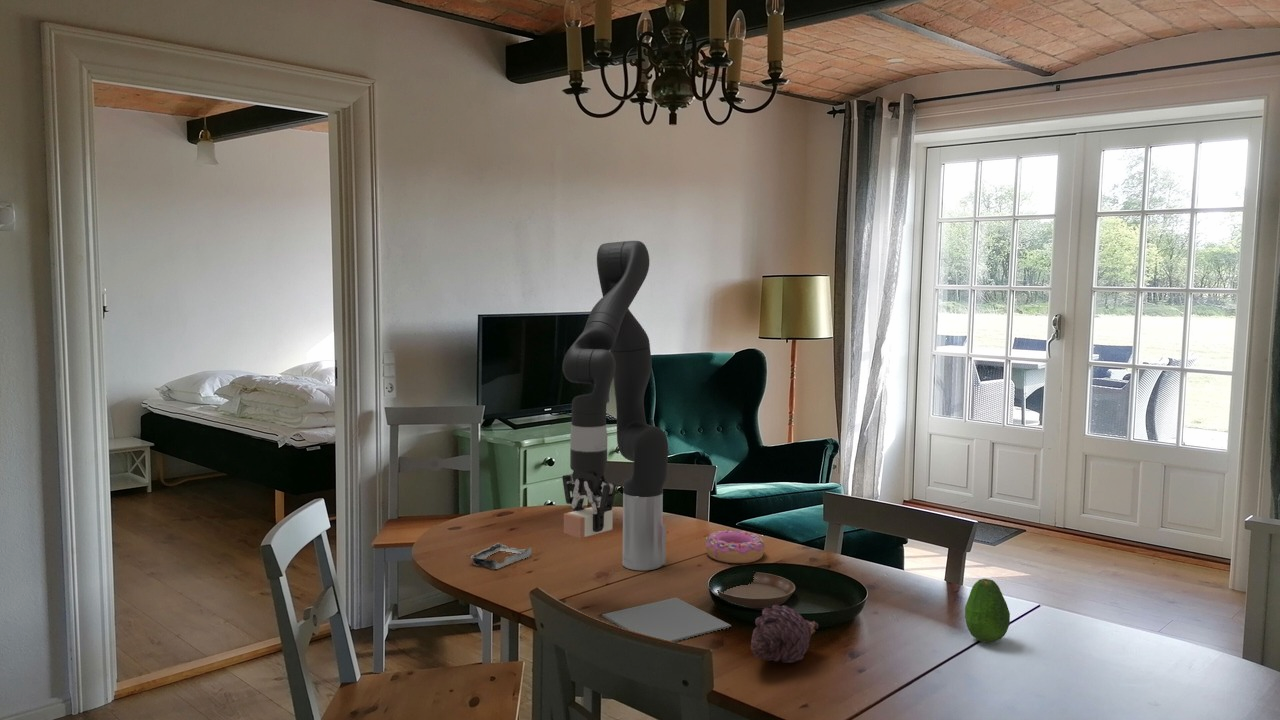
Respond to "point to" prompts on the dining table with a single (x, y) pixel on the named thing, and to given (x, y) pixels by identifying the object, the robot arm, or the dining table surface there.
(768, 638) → the purple artichoke
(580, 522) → the cream block
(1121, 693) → the dining table surface
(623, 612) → the mat
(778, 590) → the plant saucer
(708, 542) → the donut
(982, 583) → the avocado
